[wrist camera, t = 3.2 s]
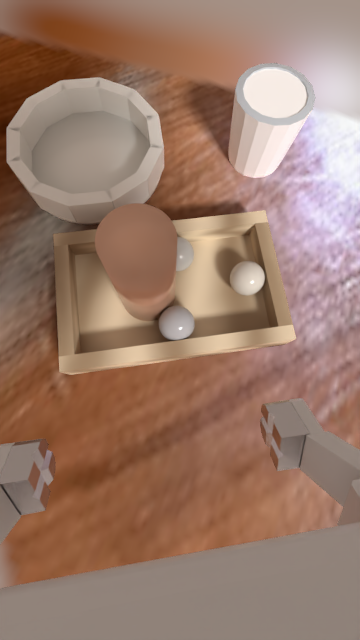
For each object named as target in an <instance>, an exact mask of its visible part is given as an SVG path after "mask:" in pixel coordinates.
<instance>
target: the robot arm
mask: <svg viewBox="0 0 360 640" xmlns="http://www.w3.org/2000/svg"><path fill="white" fill-rule="evenodd" d="M261 412H262V414H263V417H262V418H261V422H260V426H261V433H262V436H263V439H264V442H265V444H266V445H267V446H269V447H270V448H271V450H270V456H271V458H272V460H273V463H274V465H275V467H276V469H277V471H280V470H287V469H294V468H300V470H302V471H303V472H304V473H305V474H306V475H307V476H308V477H310V478H311V479H312V480H313V481H314V482H315V483H316V484H318V485H319V486H320V487H321V488H322V489H323V490H324V491H326V492H327V493H328V494H329V495H330V496H331V497H333V498H334V499H335V500H336V501H337V502H338V503H339V504H341V505H342V506H343V510H342V512H341V515H340V518H339V521H338V526H335V527H330V528H325V529H319V530H314V531H308V532H303V533H298V534H292V535H287V536H281V537H276V538H270V539H265V540H259V541H254V542H249V543H243V544H238V545H232V546H227V547H221V548H216V549H210V550H205V551H200V552H194V553H189V554H183V555H178V556H172V557H167V558H162V559H156V560H151V561H145V562H140V563H134V564H129V565H124V566H118V567H113V568H107V569H102V570H97V571H91V572H86V573H80V574H75V575H70V576H64V577H59V578H53V579H48V580H42V581H37V582H32V583H26V584H21V585H15V586H10V587H5V588H0V640H360V450H359V449H357V448H356V447H354V446H352V445H351V444H349V443H347V442H346V441H344V440H342V439H341V438H339V437H337V436H336V435H334V434H332V433H331V432H329V431H327V432H325V431H324V430H323V428H322V427H321V425H320V424H319V422H318V421H317V419H316V418H315V416H314V415H313V413H312V412H311V410H310V409H309V407H308V406H307V404H306V403H305V401H304V400H303V399H302V398H298V399H291V400H284V401H278V402H272V403H266V404H263V405H262V408H261ZM48 445H49V444H48V442H47V441H46V439H37V440H30V441H22V442H15V443H8V444H1V445H0V544H1V543H2V542H3V540H4V539H5V538H6V536H7V535H8V533H9V532H10V531H11V529H12V528H13V527H14V525H15V524H16V523H17V521H18V520H19V519H20V517H21V516H20V515H25V514H30V513H35V512H40V511H45V510H46V507H47V503H48V499H49V495H50V489H49V488H48V485H49V484H50V482H51V481H52V480H53V479H54V474H55V458H54V455H53V453H52V452H51V451H49V450H47V449H48Z"/></svg>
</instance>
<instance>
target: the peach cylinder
mask: <svg viewBox="0 0 360 640" xmlns="http://www.w3.org/2000/svg"><path fill="white" fill-rule="evenodd" d="M95 247H96V251H97V254H98V256H99V258H100V260H101V262H102V264H103V266H104V268H105V270H106V272H107V274H108V276H109V278H110V280H111V282H112V284H113V286H114V288H115V290H116V292H117V294H118V296H119V298H120V300H121V302H122V304H123V306H124V308H125V309H126V311H127V312H128V313H129V314H130V315H131V316H133V317H134V318H136V319H139V320H142V321H154V320H157V319H159V318H160V316H161V314H162V312H163V311H164V310H165V309H167V308H169V307H171V306H173V304H174V300H175V285H176V262H177V232H176V229H175V226H174V224H173V222H172V221H171V219H170V218H169V217H168V216H167V215H166V214H165V213H164V212H163V211H161V210H159V209H158V208H156V207H153V206H151V205H147V204H140V203H134V204H127V205H123V206H120V207H118V208H116V209H114V210H112V211H111V212H110V213H108V214H107V215H106V216H105V217H104V218H103V220H102V221H101V222H100V224H99V226H98V228H97V231H96V235H95Z"/></svg>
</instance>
